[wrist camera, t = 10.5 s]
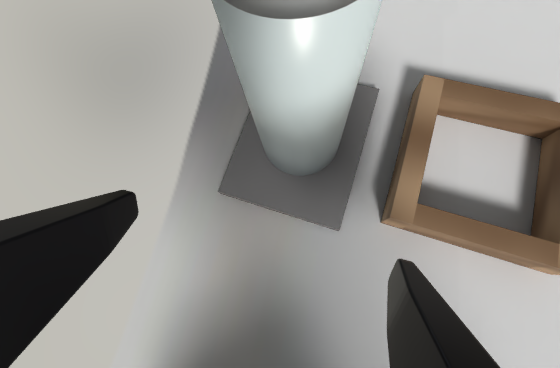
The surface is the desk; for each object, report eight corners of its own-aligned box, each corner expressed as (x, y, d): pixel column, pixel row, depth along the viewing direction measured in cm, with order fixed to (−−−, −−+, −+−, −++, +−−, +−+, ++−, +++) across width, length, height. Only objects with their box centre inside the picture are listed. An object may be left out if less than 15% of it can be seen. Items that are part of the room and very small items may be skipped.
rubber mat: (338, 231, 17) (339, 229, 17) (220, 193, 19) (218, 191, 18) (377, 94, 20) (379, 88, 19) (269, 69, 21) (268, 64, 20)
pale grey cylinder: (326, 185, 18) (382, -3, 5) (252, 163, 18) (144, -47, 6) (347, 116, 19) (435, -175, 6) (277, 98, 20) (230, -192, 7)
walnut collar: (550, 274, 16) (584, 275, 14) (380, 222, 17) (390, 217, 15) (565, 127, 18) (595, 110, 16) (412, 93, 19) (424, 74, 18)
